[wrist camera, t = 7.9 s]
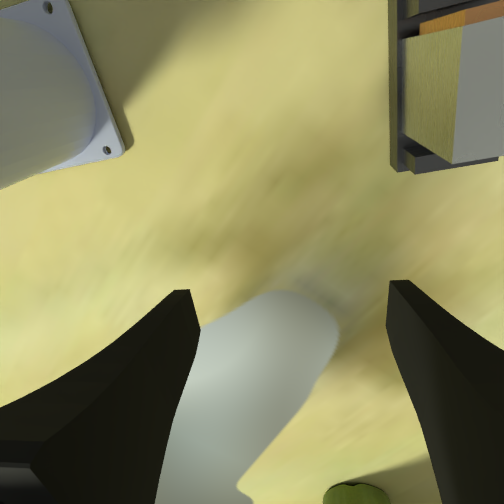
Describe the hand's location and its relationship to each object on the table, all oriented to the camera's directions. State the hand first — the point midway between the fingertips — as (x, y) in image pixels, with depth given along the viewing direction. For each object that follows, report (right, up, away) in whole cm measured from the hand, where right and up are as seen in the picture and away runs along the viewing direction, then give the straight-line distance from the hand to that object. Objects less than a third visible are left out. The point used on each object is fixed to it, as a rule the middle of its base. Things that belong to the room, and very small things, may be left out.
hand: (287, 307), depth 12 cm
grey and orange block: (+8, +10, +3) cm, 13 cm away
